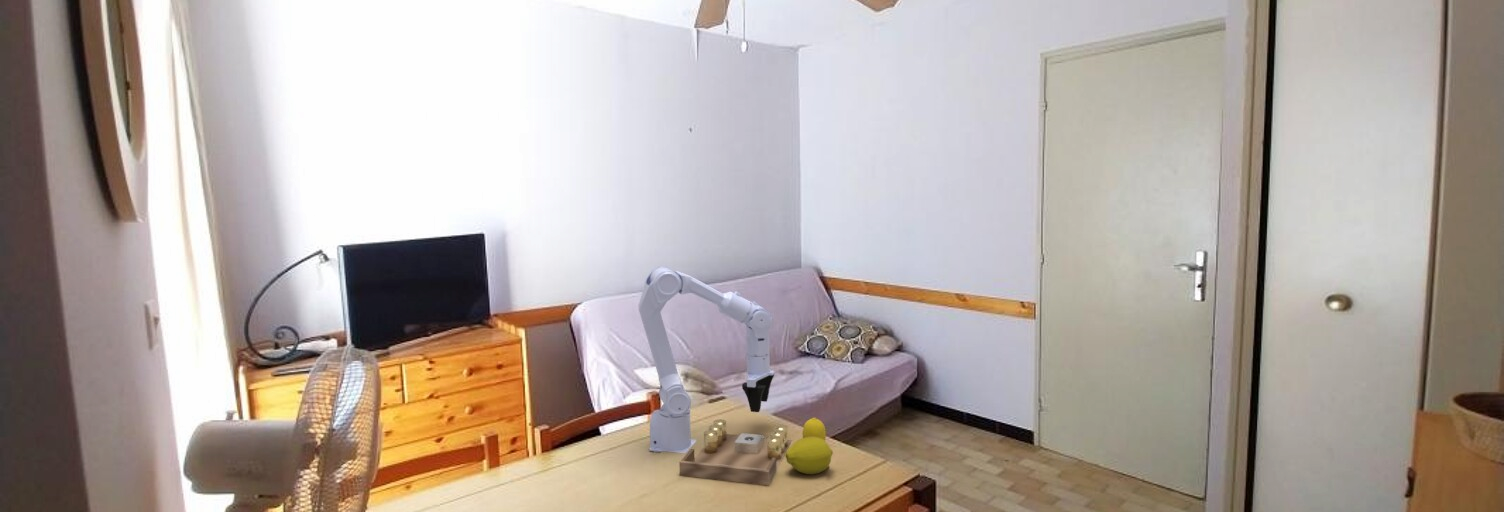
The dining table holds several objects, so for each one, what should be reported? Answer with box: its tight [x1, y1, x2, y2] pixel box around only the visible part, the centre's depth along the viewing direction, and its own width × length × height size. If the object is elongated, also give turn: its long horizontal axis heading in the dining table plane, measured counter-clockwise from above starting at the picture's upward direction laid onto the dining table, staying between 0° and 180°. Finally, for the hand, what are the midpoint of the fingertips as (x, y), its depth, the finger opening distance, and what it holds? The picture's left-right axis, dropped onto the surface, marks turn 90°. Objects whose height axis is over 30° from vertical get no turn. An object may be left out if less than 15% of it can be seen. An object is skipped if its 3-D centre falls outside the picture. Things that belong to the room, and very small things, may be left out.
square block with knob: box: [735, 432, 765, 454], centre depth 149 cm, size 6×6×2 cm
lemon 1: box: [802, 417, 827, 442], centre depth 149 cm, size 6×6×8 cm
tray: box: [678, 433, 793, 487], centre depth 145 cm, size 20×24×4 cm
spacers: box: [703, 418, 789, 460], centre depth 149 cm, size 19×10×4 cm, turn 75°
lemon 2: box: [784, 437, 833, 475], centre depth 137 cm, size 11×8×8 cm
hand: (759, 406), depth 158 cm, fingers open, 7 cm apart
